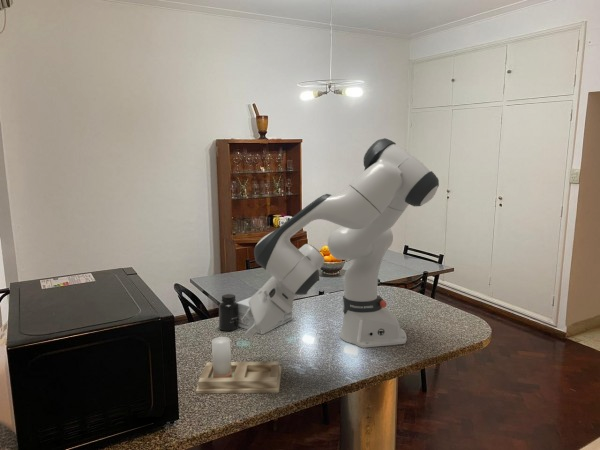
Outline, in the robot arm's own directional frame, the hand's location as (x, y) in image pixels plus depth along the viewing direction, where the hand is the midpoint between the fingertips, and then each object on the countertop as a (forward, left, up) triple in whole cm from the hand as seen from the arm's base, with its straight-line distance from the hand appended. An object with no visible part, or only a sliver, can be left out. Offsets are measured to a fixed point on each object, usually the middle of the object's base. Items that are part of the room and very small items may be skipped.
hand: (244, 329), depth 124 cm
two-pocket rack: (+1, +3, -14) cm, 14 cm away
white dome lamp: (+6, +3, -13) cm, 15 cm away
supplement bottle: (+11, -35, -14) cm, 39 cm away
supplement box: (-2, -39, -14) cm, 41 cm away
